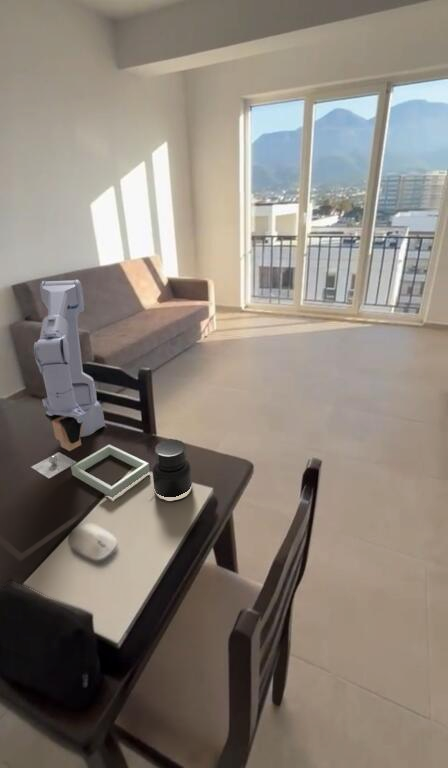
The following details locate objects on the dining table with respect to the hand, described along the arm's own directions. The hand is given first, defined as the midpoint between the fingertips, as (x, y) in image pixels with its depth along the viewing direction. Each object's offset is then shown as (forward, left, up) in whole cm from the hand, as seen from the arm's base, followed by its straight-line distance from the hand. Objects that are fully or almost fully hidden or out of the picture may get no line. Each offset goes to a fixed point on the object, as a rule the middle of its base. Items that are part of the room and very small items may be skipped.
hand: (70, 439), depth 95 cm
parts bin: (-4, +9, -9) cm, 14 cm away
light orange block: (0, 0, -2) cm, 2 cm away
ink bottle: (-9, +25, -10) cm, 28 cm away
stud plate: (+2, -6, -9) cm, 11 cm away
